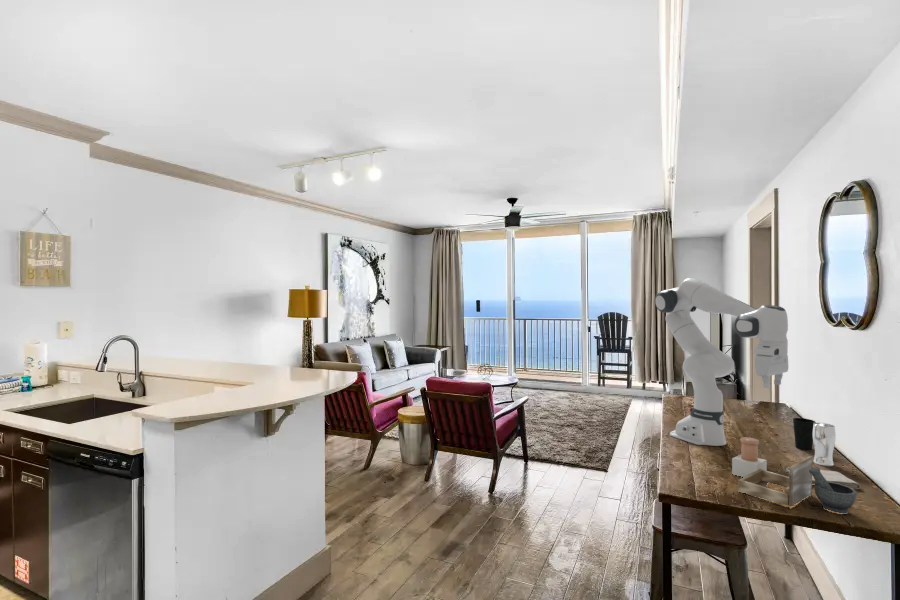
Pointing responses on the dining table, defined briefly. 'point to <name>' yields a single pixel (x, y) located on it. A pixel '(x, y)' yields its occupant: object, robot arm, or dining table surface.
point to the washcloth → (835, 478)
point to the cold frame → (780, 483)
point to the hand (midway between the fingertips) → (772, 386)
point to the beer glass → (823, 443)
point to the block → (747, 466)
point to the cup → (803, 433)
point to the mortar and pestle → (833, 493)
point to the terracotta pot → (749, 449)
